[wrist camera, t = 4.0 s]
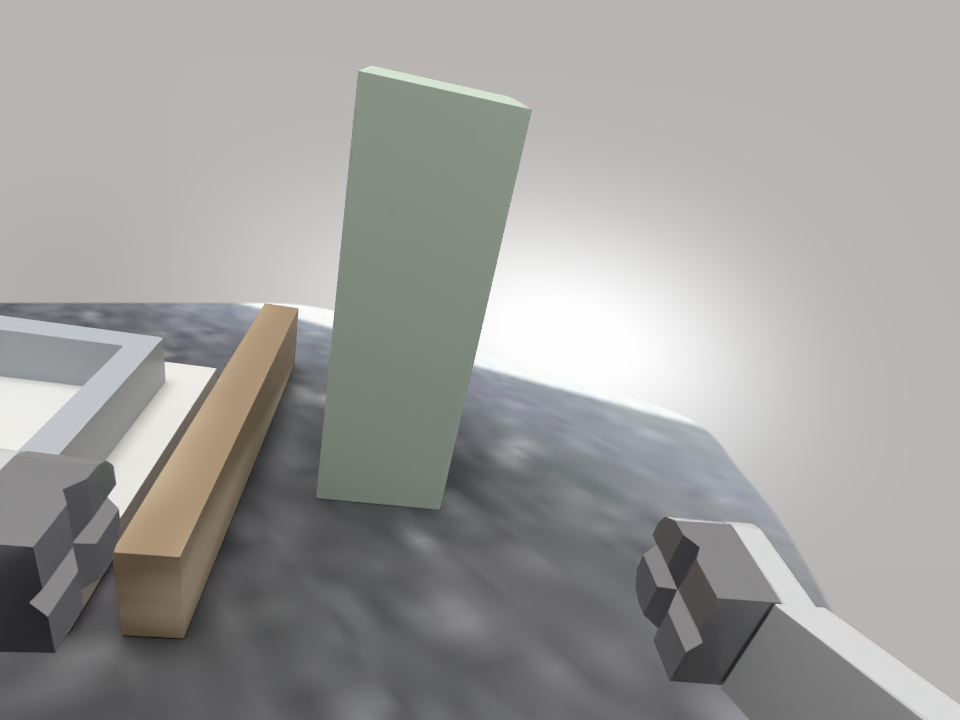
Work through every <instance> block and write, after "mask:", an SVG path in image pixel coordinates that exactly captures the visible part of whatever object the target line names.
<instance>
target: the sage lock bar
mask: <svg viewBox="0 0 960 720" xmlns="http://www.w3.org/2000/svg"><path fill="white" fill-rule="evenodd" d="M531 111H532V109H530V108H528V107H526V106H525V105H523V104H521V103H519V102H518V101H516V100H514V99H512V98H510V97H508V96H503V95H499V94H495V93H490V92H486V91H481V90H477V89H473V88H468V87H464V86H459V85H455V84H450V83H446V82H442V81H437V80H433V79H428V78H424V77H420V76H415V75H411V74H406V73H402V72H397V71H393V70H389V69H384V68H380V67H375V66H370V67H367V68H364V69H361V70H359V71H358V79H357V89H356V99H355V109H354V119H353V130H352V140H351V150H350V161H349V170H348V181H347V190H346V201H345V211H344V222H343V231H342V241H341V251H340V261H339V272H338V281H337V292H336V302H335V312H334V322H333V332H332V342H331V352H330V363H329V373H328V383H327V393H326V403H325V413H324V423H323V434H322V444H321V454H320V464H319V474H318V484H317V494H316V498H320V499H331V500H341V501H352V502H362V503H373V504H384V505H394V506H405V507H415V508H426V509H436V510H440V507H441V502H442V498H443V494H444V489H445V485H446V481H447V476H448V472H449V468H450V463H451V459H452V455H453V450H454V446H455V442H456V437H457V433H458V429H459V424H460V420H461V416H462V411H463V407H464V403H465V398H466V394H467V390H468V385H469V381H470V376H471V372H472V368H473V363H474V359H475V355H476V350H477V346H478V342H479V337H480V333H481V329H482V324H483V320H484V316H485V311H486V307H487V302H488V298H489V294H490V290H491V285H492V281H493V276H494V272H495V268H496V264H497V259H498V254H499V250H500V246H501V242H502V237H503V233H504V229H505V224H506V220H507V216H508V211H509V207H510V203H511V198H512V194H513V189H514V185H515V181H516V177H517V172H518V168H519V164H520V159H521V155H522V151H523V146H524V142H525V138H526V133H527V129H528V125H529V120H530V116H531Z"/></svg>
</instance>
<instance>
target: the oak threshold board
mask: <svg viewBox="0 0 960 720" xmlns="http://www.w3.org/2000/svg"><path fill="white" fill-rule="evenodd" d="M297 321H298V308H292V307H285V306H279V305H272V304H264V306H263V308H262V309H261V311H260V312H259V314H258V316H257V317H256V319H255V321H254V322H253V324H252V325H251V327H250V329H249V330H248V332H247V334H246V335H245V337H244V338H243V340H242V342H241V343H240V345H239V347H238V348H237V350H236V351H235V353H234V355H233V356H232V358H231V360H230V361H229V363H228V364H227V366H226V368H225V369H224V371H223V373H222V374H221V376H220V377H219V379H218V381H217V382H216V384H215V386H214V387H213V389H212V390H211V392H210V394H209V395H208V397H207V398H206V400H205V402H204V403H203V405H202V407H201V408H200V410H199V411H198V413H197V415H196V416H195V418H194V420H193V421H192V423H191V424H190V426H189V428H188V429H187V431H186V433H185V434H184V436H183V437H182V439H181V441H180V442H179V444H178V446H177V447H176V449H175V450H174V452H173V454H172V455H171V457H170V459H169V460H168V462H167V463H166V465H165V467H164V468H163V470H162V472H161V473H160V475H159V476H158V478H157V480H156V481H155V483H154V485H153V486H152V488H151V489H150V491H149V493H148V494H147V496H146V498H145V499H144V501H143V502H142V504H141V506H140V507H139V509H138V510H137V512H136V514H135V515H134V517H133V519H132V520H131V522H130V523H129V525H128V527H127V528H126V530H125V532H124V533H123V535H122V536H121V538H120V540H119V541H118V543H117V545H116V547H115V550H114V553H113V556H112V558H113V566H114V574H115V582H116V591H117V599H118V607H119V615H120V624H121V632H122V635H129V636H148V637H168V638H184V636H185V634H186V631H187V629H188V626H189V624H190V621H191V619H192V616H193V614H194V611H195V609H196V606H197V604H198V601H199V599H200V596H201V594H202V592H203V589H204V587H205V584H206V582H207V579H208V577H209V574H210V572H211V569H212V567H213V564H214V562H215V559H216V557H217V554H218V552H219V550H220V547H221V545H222V542H223V540H224V537H225V535H226V532H227V530H228V527H229V525H230V522H231V520H232V517H233V515H234V512H235V510H236V507H237V505H238V503H239V500H240V498H241V495H242V493H243V490H244V488H245V485H246V483H247V480H248V478H249V475H250V473H251V470H252V468H253V465H254V463H255V461H256V458H257V456H258V453H259V451H260V448H261V446H262V443H263V441H264V438H265V436H266V433H267V431H268V428H269V426H270V423H271V421H272V419H273V416H274V414H275V411H276V409H277V406H278V404H279V401H280V399H281V396H282V394H283V391H284V389H285V386H286V384H287V381H288V379H289V376H290V374H291V372H292V369H293V367H294V364H295V351H296V336H297Z"/></svg>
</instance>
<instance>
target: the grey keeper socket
mask: <svg viewBox="0 0 960 720" xmlns="http://www.w3.org/2000/svg"><path fill="white" fill-rule="evenodd" d="M216 382H217V369H216V368H209V367H201V366H193V365H185V364H178V363H170V362H165V361H164V342H163V338H162V337H154V336H147V335H139V334H132V333H125V332H117V331H110V330H103V329H95V328H88V327H80V326H73V325H66V324H58V323H51V322H44V321H36V320H29V319H21V318H14V317H7V316H0V448H1V449H9V450H17V451H23V452H26V451H31V452H39V453H48V454H56V455H64V456H72V457H81V458H89V459H97V460H105V461H108V462H109V463H111V464H112V465H113V466H114V472H115V479H116V485H115V487H114V488H113V490H112V491H111V493H110V494H109V496H108V498H109V499H110V500H111V501H112V502H113V503H114V504H115V505H116V506H117V507H118V508H119V515H120V529H119V538H118V541H119V540H120V538H121V536H122V535H123V533H124V532H125V530H126V528H127V527H128V525H129V523H130V522H131V520H132V519H133V517H134V515H135V514H136V512H137V510H138V509H139V507H140V506H141V504H142V502H143V501H144V499H145V498H146V496H147V494H148V493H149V491H150V489H151V488H152V486H153V485H154V483H155V481H156V480H157V478H158V476H159V475H160V473H161V472H162V470H163V468H164V467H165V465H166V463H167V462H168V460H169V459H170V457H171V455H172V454H173V452H174V450H175V449H176V447H177V446H178V444H179V442H180V441H181V439H182V437H183V436H184V434H185V433H186V431H187V429H188V428H189V426H190V424H191V423H192V421H193V420H194V418H195V416H196V415H197V413H198V411H199V410H200V408H201V407H202V405H203V403H204V402H205V400H206V398H207V397H208V395H209V394H210V392H211V390H212V389H213V387H214V386H215V384H216ZM118 541H117V543H118ZM116 545H117V544H116ZM112 560H113V558H112V559H111V561H110V563H109V565H110V564H111V562H112ZM109 565H108V566H107V568H106V570H107V569H108V567H109ZM106 570H105V572H106ZM105 572H104V573H105ZM104 573H103V575H104ZM103 575H102V577H103ZM102 577H101V578H102ZM101 578H100V579H98V580H97V581H95V582H94V583H92V584H90V585H89V586H87V587H85V588H84V589H82V590H81V593H82V600H83V608H84V607H85V605H86V603H87V602H88V600H89V598H90V597H91V595H92V593H93V592H94V590H95V588H96V587H97V585H98V583H99V582H100V580H101ZM83 608H82V610H83ZM82 610H81V611H82ZM81 611H80V613H81ZM80 613H79V615H80ZM79 615H78V616H79ZM78 616H77V618H78ZM77 618H76V619H75V621H76V620H77ZM75 621H74V623H75ZM74 623H73V624H72V626H73V625H74ZM72 626H71V628H72ZM71 628H70V629H69V631H70V630H71ZM69 631H68V632H69Z"/></svg>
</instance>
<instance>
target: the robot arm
mask: <svg viewBox="0 0 960 720" xmlns="http://www.w3.org/2000/svg"><path fill="white" fill-rule="evenodd" d="M115 485H116V479H115V472H114V466H113V465H112V464H111V463H109V462H108V461H105V460H97V459H89V458H81V457H72V456H64V455H56V454H48V453H39V452H31V451H26V452H23V451H17V450H9V449H1V448H0V652H40V653H55V652H56V650H57V649H58V647H59V646H60V644H61V642H62V641H63V639H64V637H65V636H66V634H67V633H68V631H69V629H70V628H71V626H72V624H73V623H74V621H75V619H76V618H77V616H78V615H79V613H80V611H81V610H82V608H83V600H82V593H81V590H82V589H84V588H85V587H87V586H89V585H90V584H92V583H94V582H95V581H97V580H98V579H100V578H101V577H102V575H103V573H104V572H105V570H106V568H107V566H108V565H109V563H110V561H111V559H112V556H113V553H114V550H115V547H116V544H117V541H118V538H119V529H120V515H119V508H118V507H117V506H116V505H115V504H114V503H113V502H112V501H111V500H110V499H109V498H108V496H109V494H110V493H111V491H112V490H113V488H114V487H115ZM653 536H654V539H655V542H656V544H657V545H656V546H655V547H653V548H652V549H651V550H649V551H648V552H646V553H645V554H643V557H642V559H641V561H640V564H639V566H638V569H637V578H636V590H637V596H638V601H639V604H640V606H641V609H642V612H643V615H645V616H646V617H647V618H648V619H649V620H650V621H651V622H652V623H653V624H654V625H655V626H656V627H657V631H656V634H655V637H654V643H655V645H656V648H657V650H658V653H659V655H660V658H661V660H662V663H663V665H664V668H665V670H666V673H667V675H668V678H669V680H670V681H677V682H690V683H704V684H717V685H722V687H721V688H722V689H723V691H724V692H725V693H726V694H727V695H728V696H729V697H730V698H731V699H732V701H733V702H734V703H735V704H736V705H737V706H738V707H739V708H740V709H741V711H742V712H743V713H744V714H745V715H746V716H747V717H748V718H749V719H750V720H960V705H959V704H957V703H956V702H955V701H953V700H952V699H951V698H949V697H948V696H946V695H945V694H944V693H942V692H941V691H939V690H938V689H937V688H935V687H934V686H932V685H931V684H930V683H928V682H927V681H926V680H924V679H923V678H921V677H920V676H919V675H917V674H916V673H914V672H913V671H912V670H910V669H909V668H908V667H906V666H905V665H903V664H902V663H900V662H899V661H898V660H896V659H895V658H894V657H892V656H891V655H889V654H888V653H887V652H885V651H884V650H883V649H881V648H880V647H878V646H877V645H876V644H874V643H873V642H871V641H870V640H868V639H867V638H866V637H864V636H863V635H861V634H860V633H859V632H858V631H856V630H855V629H853V628H852V627H851V626H849V625H848V624H846V623H845V622H844V621H842V620H841V619H840V618H838V617H837V616H835V615H834V614H833V613H831V612H830V611H828V610H827V609H826V608H821V607H815V605H814V604H813V602H812V601H811V600H810V598H809V597H808V595H807V594H806V593H805V591H804V590H803V588H802V587H801V586H800V584H799V583H798V581H797V580H796V579H795V577H794V576H793V574H792V573H791V571H790V570H789V569H788V567H787V566H786V564H785V563H784V562H783V560H782V559H781V557H780V556H779V555H778V553H777V552H776V550H775V549H774V548H773V546H772V545H771V543H770V542H769V541H768V539H767V538H766V536H765V535H764V533H763V532H762V531H761V530H760V529H759V528H758V527H756V526H755V525H753V524H749V523H736V522H718V521H707V520H696V519H685V518H674V517H665V518H663V519H662V520H661V521H660V522H659V523H658V525H657V527H656V529H655V531H654V533H653Z"/></svg>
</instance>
